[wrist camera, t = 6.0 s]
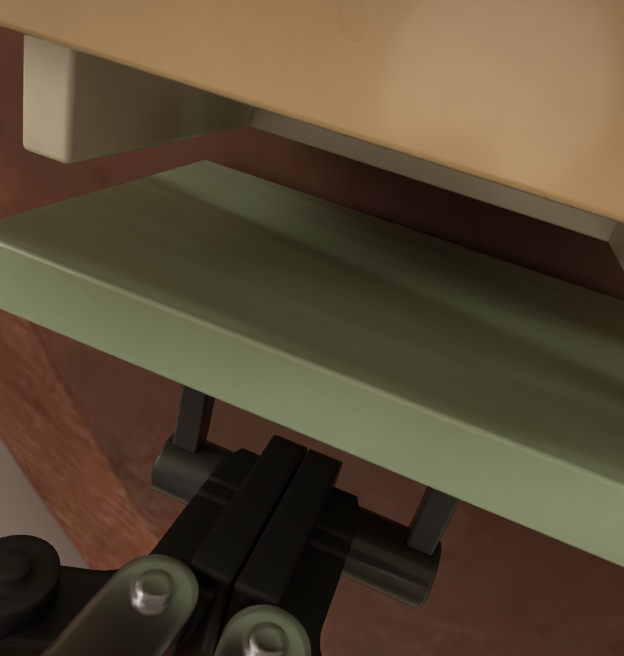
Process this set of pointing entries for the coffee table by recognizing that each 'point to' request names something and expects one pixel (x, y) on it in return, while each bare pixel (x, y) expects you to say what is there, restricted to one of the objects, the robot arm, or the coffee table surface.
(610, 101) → the cabinet
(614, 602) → the coffee table surface
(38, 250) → the drawer
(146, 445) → the coffee table surface
